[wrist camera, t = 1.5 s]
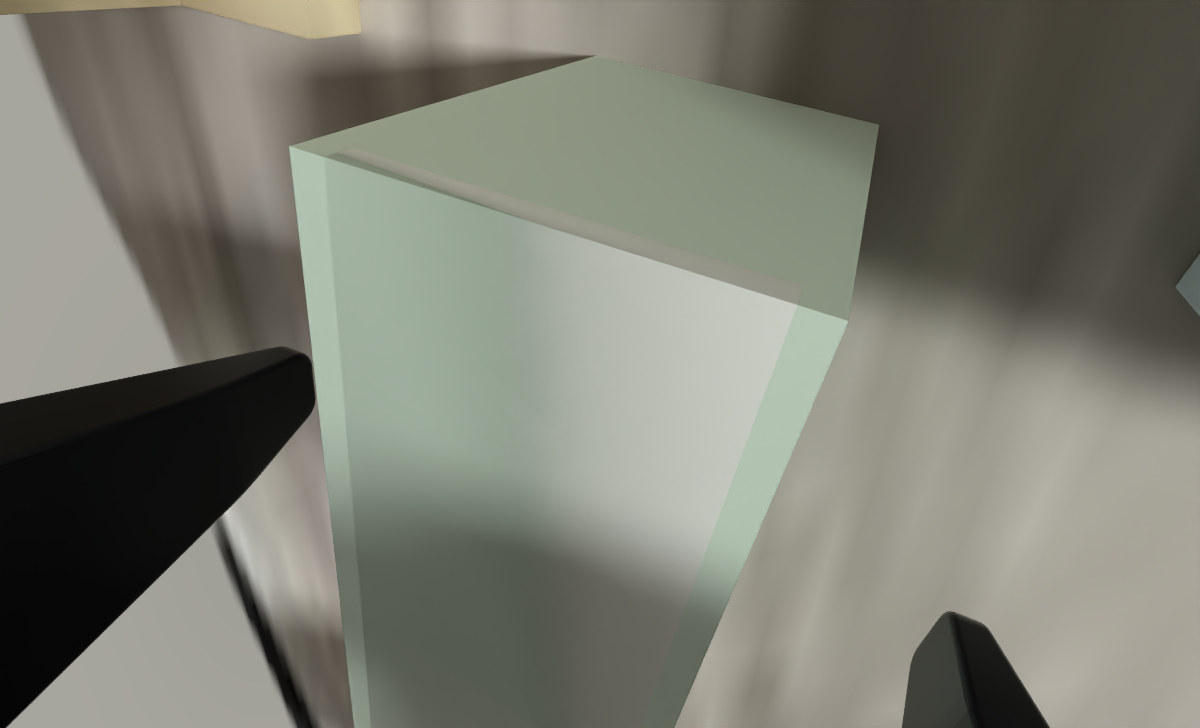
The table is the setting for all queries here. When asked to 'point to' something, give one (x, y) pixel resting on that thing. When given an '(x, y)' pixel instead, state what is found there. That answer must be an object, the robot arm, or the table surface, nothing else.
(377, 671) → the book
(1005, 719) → the robot arm
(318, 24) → the bookend
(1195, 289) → the book row
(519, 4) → the table surface
